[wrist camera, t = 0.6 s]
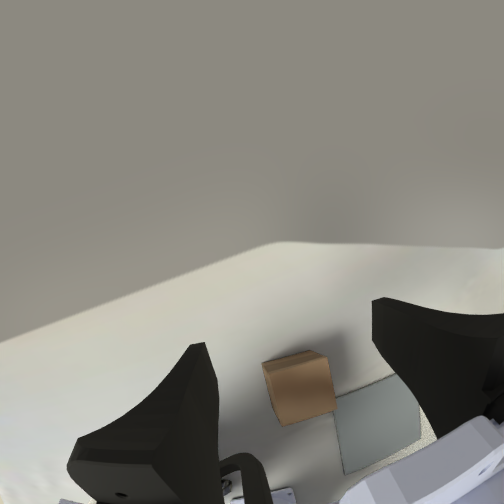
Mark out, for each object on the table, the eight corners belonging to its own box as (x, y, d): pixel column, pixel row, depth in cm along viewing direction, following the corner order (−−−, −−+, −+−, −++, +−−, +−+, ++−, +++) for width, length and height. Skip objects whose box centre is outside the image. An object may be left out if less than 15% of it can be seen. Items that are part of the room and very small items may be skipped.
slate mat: (418, 437, 29) (420, 438, 28) (344, 473, 27) (345, 475, 27) (412, 365, 31) (414, 365, 31) (330, 399, 30) (332, 400, 29)
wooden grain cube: (319, 394, 30) (337, 409, 24) (272, 407, 29) (282, 426, 23) (309, 350, 31) (326, 357, 25) (261, 363, 30) (269, 373, 24)
